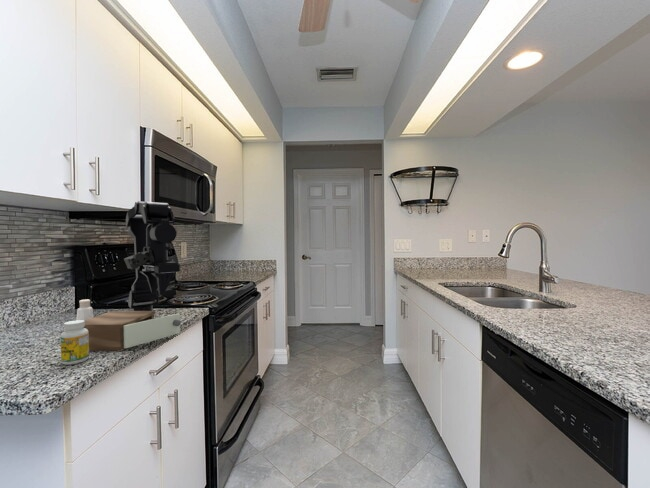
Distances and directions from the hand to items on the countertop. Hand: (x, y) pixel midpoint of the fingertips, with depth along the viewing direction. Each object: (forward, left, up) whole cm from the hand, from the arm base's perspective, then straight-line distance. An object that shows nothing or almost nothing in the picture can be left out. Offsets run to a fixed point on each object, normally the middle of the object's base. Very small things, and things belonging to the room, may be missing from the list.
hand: (157, 294), depth 95 cm
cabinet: (+4, -10, -13) cm, 17 cm away
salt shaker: (-2, -24, -13) cm, 27 cm away
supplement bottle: (+19, -10, -13) cm, 25 cm away
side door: (+6, +2, -12) cm, 14 cm away
